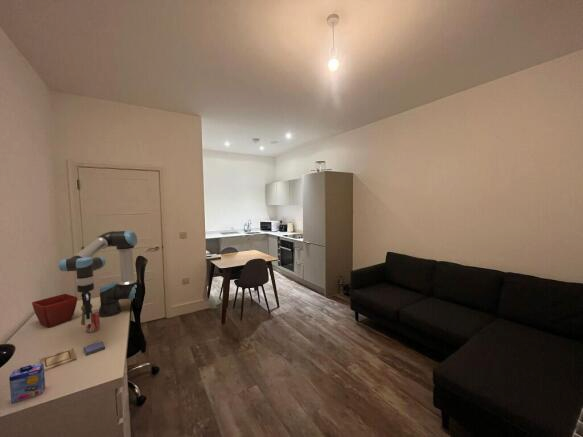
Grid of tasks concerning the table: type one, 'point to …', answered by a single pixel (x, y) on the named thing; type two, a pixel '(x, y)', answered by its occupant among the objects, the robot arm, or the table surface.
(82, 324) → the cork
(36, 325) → the table surface
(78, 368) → the table surface
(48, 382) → the table surface
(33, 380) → the ink cartridge box
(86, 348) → the ink pad
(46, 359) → the board
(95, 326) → the soda can
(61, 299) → the plant pot
